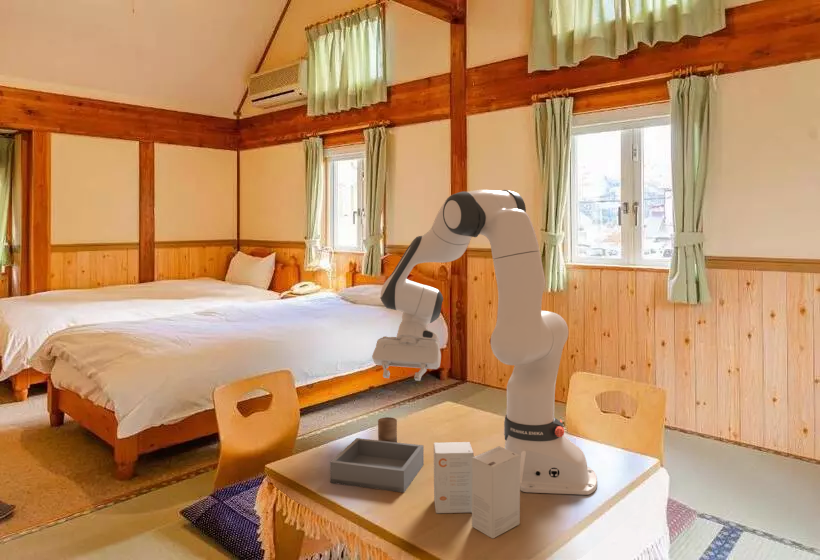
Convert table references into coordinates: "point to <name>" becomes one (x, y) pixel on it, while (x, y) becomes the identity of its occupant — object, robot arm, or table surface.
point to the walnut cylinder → (387, 429)
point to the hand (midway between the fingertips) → (401, 378)
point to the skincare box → (495, 491)
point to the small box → (453, 477)
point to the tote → (377, 464)
